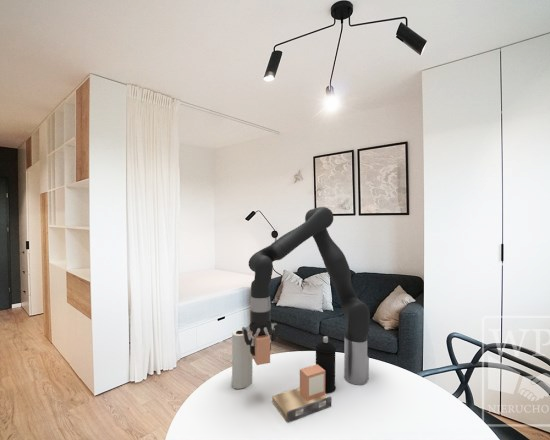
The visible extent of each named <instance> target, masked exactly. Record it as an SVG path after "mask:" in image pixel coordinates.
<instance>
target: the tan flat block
mask: <svg viewBox="0 0 550 440" xmlns="http://www.w3.org/2000/svg"><path fill="white" fill-rule="evenodd" d="M271 402H272V403H273V405H274V406H275V408H276V409H277V410H278V411H279V413H280V415H281V416H282V417H283V419H284V420H285V421H286V423H290V422H293V421H296V420H298V419H301V418H303V417H307V416H309V415H312V414H314V413H317V412H320V411H323V410H325V409H328V408H330V407H332V396H327V395H326V394H325V395H323V396H321V397H318V398H315V399H312V400H309V401H306V399H305V398H304V397H303V396H302V395H301V394H300V387H297V388H293V389H290V390H288V391H285V392H281V393H278V394H275V395H272V397H271Z"/></svg>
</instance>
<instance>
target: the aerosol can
mask: <svg viewBox="0 0 550 440" xmlns="http://www.w3.org/2000/svg"><path fill="white" fill-rule="evenodd" d="M336 350H337V347H336V346H335V345H334V344H333V343H332V342H330V341H329V336H325V335H324V336H322V341H319V342H318V343H317V344H316V345H315V365H317V364H318V365H319V366H320V367H321V368H323V369H324V370H325V394H331V393H334V392H335V391H336V389H337V387H336Z"/></svg>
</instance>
